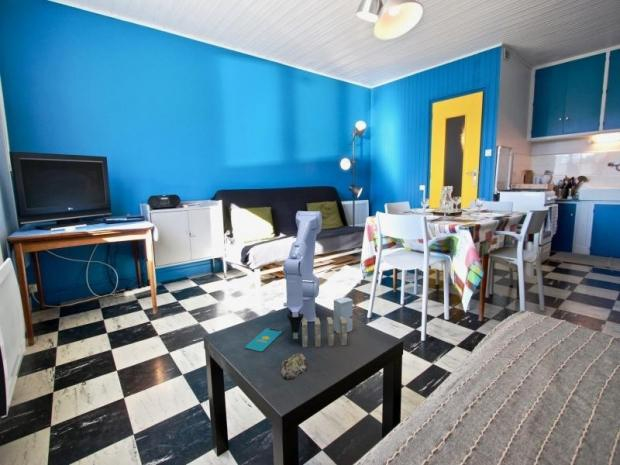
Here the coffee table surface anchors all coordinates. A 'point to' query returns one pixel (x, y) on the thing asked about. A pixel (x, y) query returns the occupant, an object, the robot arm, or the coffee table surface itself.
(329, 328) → the domino
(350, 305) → the skincare box
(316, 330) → the domino
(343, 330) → the domino
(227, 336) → the coffee table surface
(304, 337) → the domino
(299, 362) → the mineral rock
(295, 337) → the domino
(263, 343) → the smartphone
